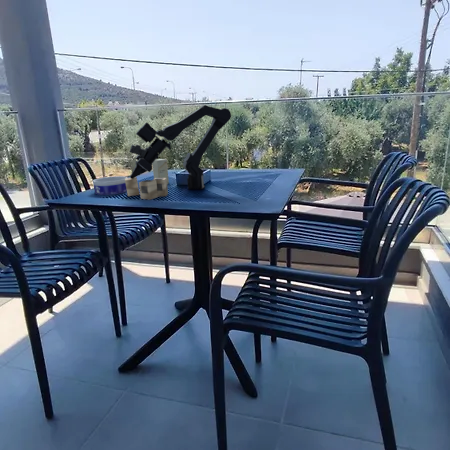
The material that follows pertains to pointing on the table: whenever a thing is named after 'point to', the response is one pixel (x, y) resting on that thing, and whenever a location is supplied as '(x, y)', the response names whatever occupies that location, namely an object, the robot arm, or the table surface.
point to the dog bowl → (110, 185)
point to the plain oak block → (132, 186)
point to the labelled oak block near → (148, 189)
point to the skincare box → (160, 169)
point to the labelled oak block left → (161, 186)
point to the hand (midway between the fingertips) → (131, 177)
